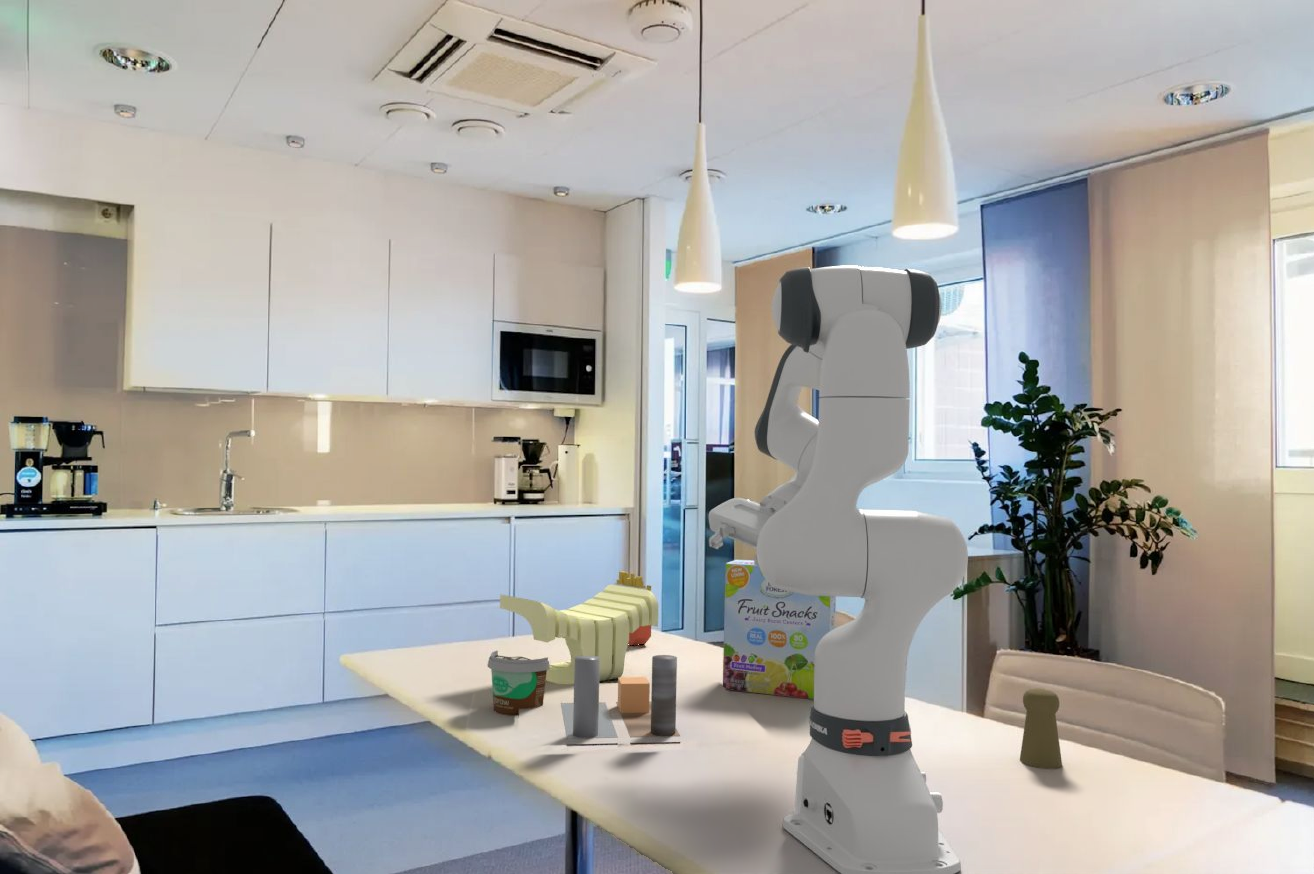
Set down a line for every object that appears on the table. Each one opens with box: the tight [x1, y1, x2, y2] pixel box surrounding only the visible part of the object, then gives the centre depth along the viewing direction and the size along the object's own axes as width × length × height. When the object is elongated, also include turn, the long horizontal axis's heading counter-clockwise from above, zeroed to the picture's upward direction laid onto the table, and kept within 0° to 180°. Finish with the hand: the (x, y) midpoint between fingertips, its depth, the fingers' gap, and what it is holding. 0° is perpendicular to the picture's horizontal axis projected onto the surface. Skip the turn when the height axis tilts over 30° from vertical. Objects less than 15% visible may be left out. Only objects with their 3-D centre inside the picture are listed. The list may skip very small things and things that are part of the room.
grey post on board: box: [616, 654, 681, 746], centre depth 154 cm, size 22×8×13 cm, turn 9°
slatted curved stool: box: [499, 584, 659, 685], centre depth 189 cm, size 30×16×18 cm, turn 135°
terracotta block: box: [617, 676, 651, 714], centre depth 160 cm, size 5×5×5 cm
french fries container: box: [614, 570, 652, 646], centre depth 230 cm, size 5×11×18 cm, turn 36°
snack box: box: [722, 559, 837, 700], centre depth 181 cm, size 22×9×26 cm, turn 71°
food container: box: [487, 650, 550, 717], centre depth 160 cm, size 12×6×10 cm, turn 62°
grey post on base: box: [560, 656, 619, 747], centre depth 152 cm, size 22×8×13 cm, turn 9°
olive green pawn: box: [1019, 688, 1063, 770], centre depth 139 cm, size 6×6×11 cm
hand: (734, 553), depth 146 cm, fingers open, 8 cm apart
